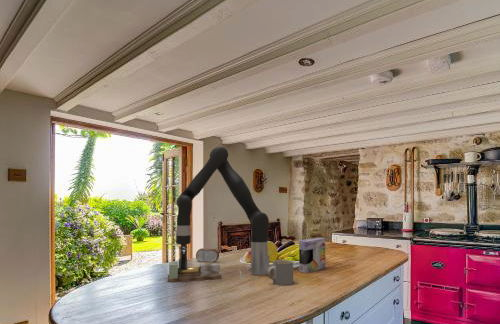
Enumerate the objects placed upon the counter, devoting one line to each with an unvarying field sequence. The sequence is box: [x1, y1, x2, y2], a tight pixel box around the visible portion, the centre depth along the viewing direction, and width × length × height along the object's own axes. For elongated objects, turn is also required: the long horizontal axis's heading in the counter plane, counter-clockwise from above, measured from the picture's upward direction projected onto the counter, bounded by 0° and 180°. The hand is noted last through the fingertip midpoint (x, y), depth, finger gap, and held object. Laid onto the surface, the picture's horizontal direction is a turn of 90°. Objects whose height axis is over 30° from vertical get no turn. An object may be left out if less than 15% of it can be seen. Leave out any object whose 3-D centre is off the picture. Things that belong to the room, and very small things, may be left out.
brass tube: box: [178, 257, 201, 275], centre depth 176 cm, size 17×4×8 cm, turn 104°
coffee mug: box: [266, 259, 294, 286], centre depth 167 cm, size 13×10×10 cm
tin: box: [195, 247, 220, 263], centre depth 219 cm, size 15×3×8 cm, turn 84°
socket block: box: [168, 261, 179, 279], centre depth 173 cm, size 4×8×6 cm, turn 14°
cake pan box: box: [298, 236, 326, 274], centre depth 194 cm, size 19×5×18 cm, turn 129°
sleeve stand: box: [167, 262, 222, 283], centre depth 176 cm, size 26×10×6 cm, turn 104°
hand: (182, 268), depth 174 cm, fingers closed on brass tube, 3 cm apart
